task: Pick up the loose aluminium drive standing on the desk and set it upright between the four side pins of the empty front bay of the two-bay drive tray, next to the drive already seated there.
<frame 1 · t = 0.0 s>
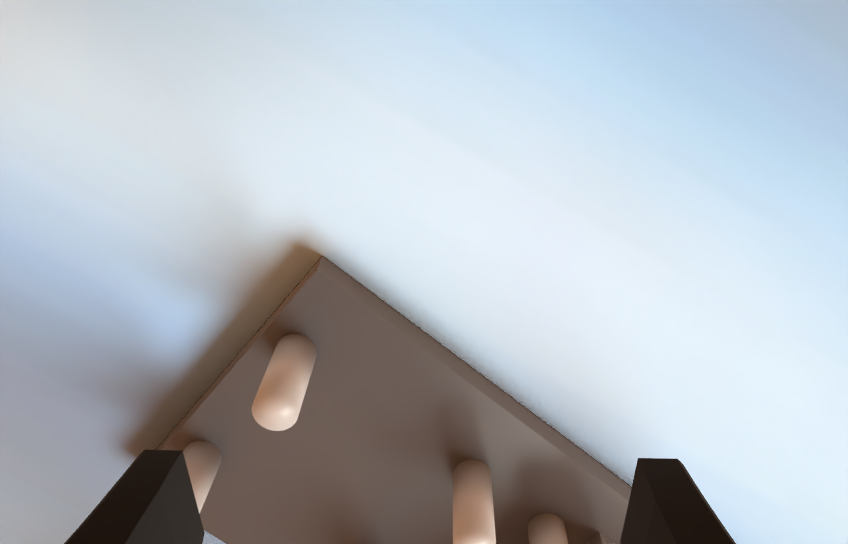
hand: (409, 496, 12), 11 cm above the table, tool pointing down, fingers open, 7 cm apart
drive tray: (457, 524, 26), on the table
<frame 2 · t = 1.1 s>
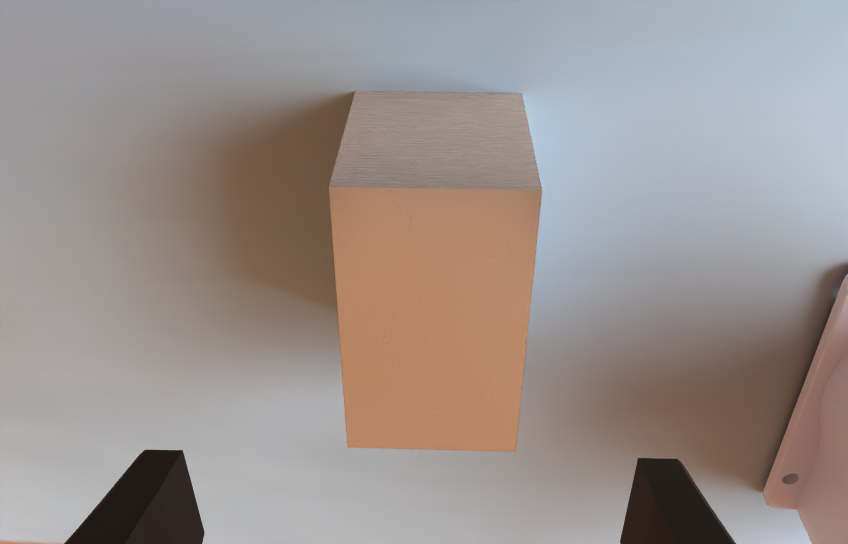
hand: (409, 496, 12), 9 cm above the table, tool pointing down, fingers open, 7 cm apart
loose drive: (436, 216, 21), on the table
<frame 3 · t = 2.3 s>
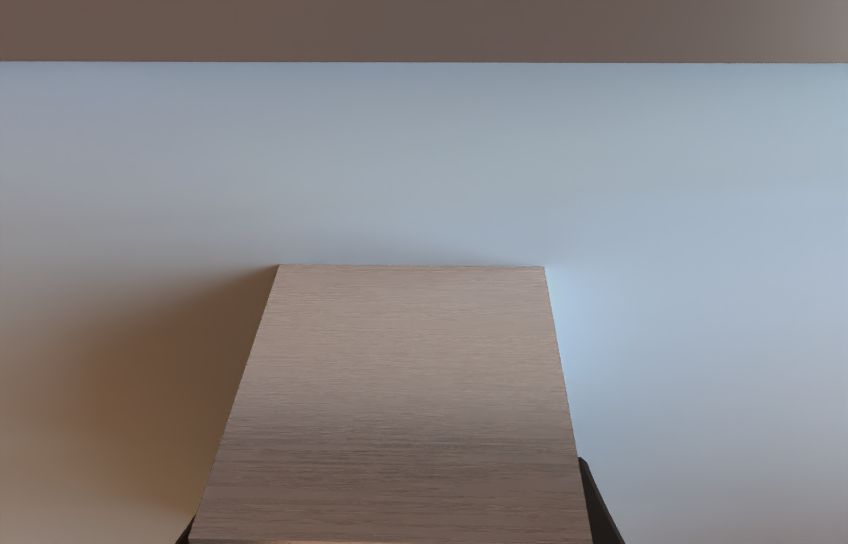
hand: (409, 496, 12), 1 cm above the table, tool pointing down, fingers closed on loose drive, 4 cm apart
loose drive: (414, 426, 14), on the table, touching gripper
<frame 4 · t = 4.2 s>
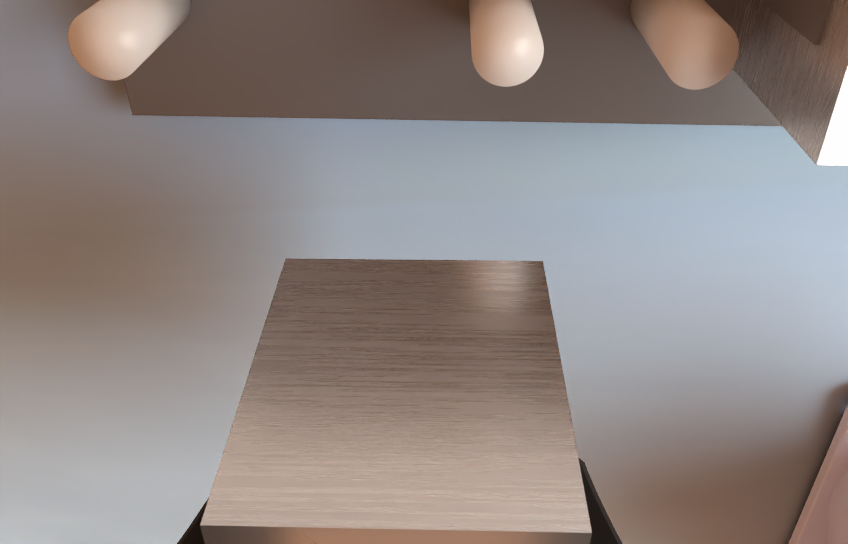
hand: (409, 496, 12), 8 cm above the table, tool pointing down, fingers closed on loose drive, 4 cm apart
loose drive: (416, 421, 14), point 7 cm above the table, touching gripper
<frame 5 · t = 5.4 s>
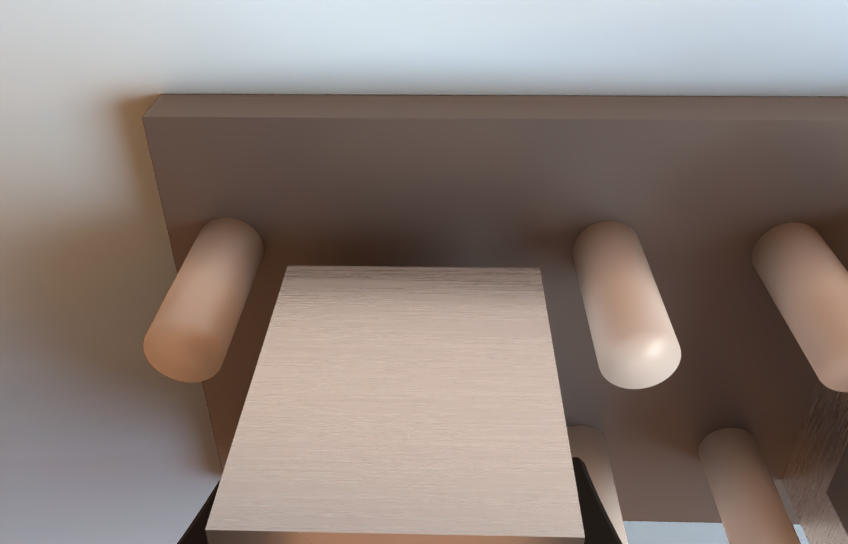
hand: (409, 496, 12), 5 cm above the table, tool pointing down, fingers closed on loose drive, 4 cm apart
drive tray: (660, 326, 16), on the table
loose drive: (416, 424, 14), point 3 cm above the table, touching gripper
when the fingers open (4 cm above the table, at t = 5.9 s): loose drive stays where it is, resting on drive tray.
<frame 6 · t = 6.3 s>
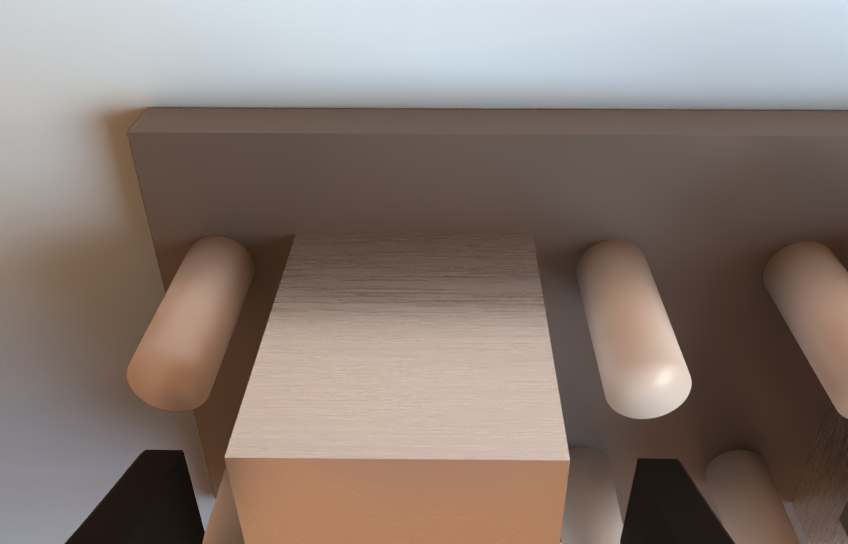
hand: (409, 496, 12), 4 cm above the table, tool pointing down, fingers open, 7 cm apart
drive tray: (666, 345, 16), on the table
loose drive: (418, 387, 15), point 1 cm above the table, touching drive tray
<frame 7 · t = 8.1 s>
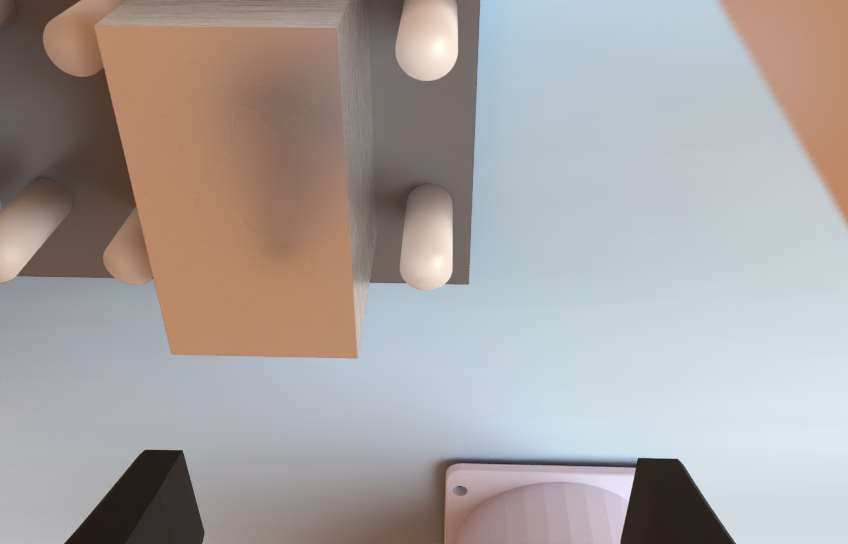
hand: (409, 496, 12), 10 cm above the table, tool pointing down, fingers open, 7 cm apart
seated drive: (289, 111, 19), point 1 cm above the table, touching drive tray
drive tray: (101, 94, 20), on the table
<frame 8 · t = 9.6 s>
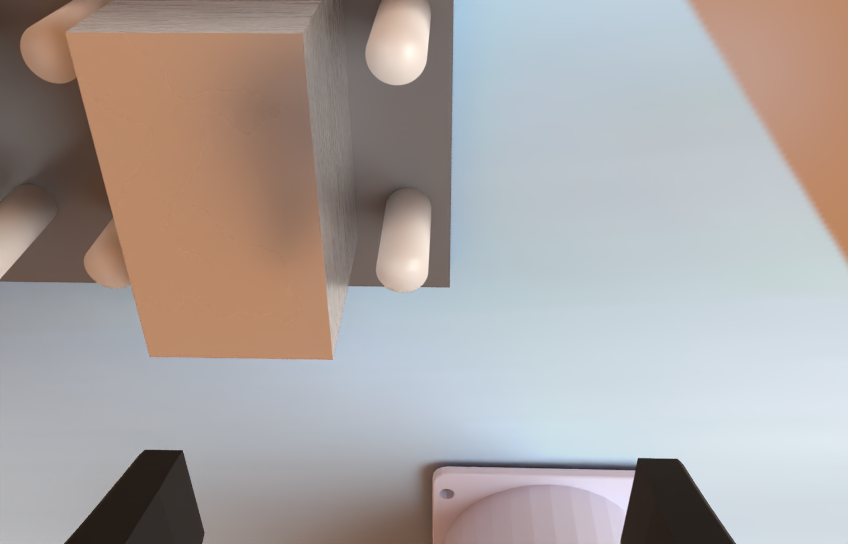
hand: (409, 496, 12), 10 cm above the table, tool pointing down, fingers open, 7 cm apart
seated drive: (268, 117, 19), point 1 cm above the table, touching drive tray
drive tray: (84, 101, 20), on the table
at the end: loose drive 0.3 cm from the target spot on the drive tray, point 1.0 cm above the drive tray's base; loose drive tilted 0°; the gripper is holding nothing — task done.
